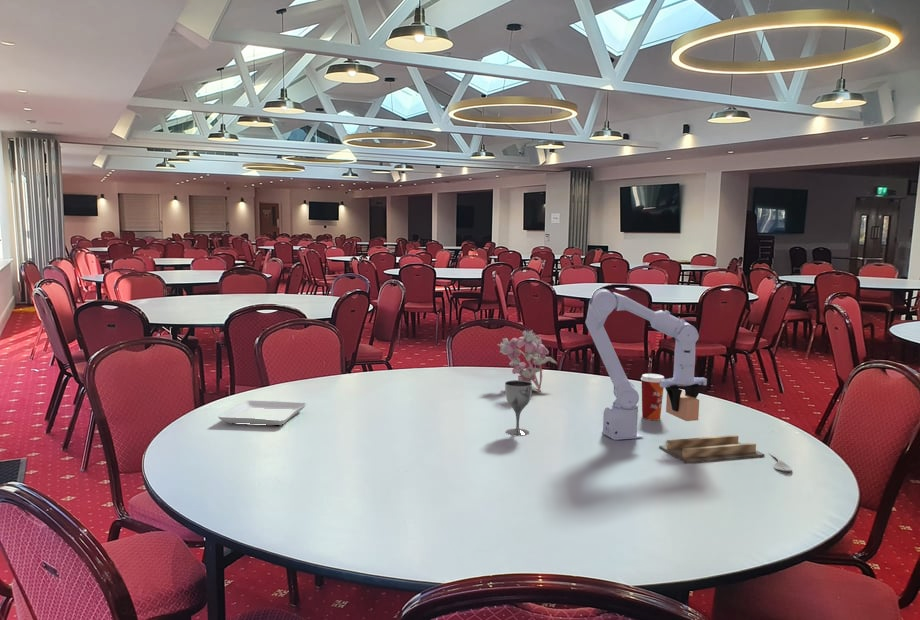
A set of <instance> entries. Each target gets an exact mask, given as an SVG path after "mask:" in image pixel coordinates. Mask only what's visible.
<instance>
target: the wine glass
mask: <svg viewBox="0 0 920 620" xmlns="http://www.w3.org/2000/svg"><path fill="white" fill-rule="evenodd" d="M532 387H533V383H532V381H531V382H528V381H521V380H508V381H505V383H504V391H505V398H506V401H507V404H508V405H509V406H510V407H511V409H512V411H514V414H515V421H516V422H515V423H516V425H515V428H509V429H506V430H505V433H506V434H507V433H508V435H509V434H510V436H514V435H516V436H515V437H522V436H521V435H524V436H527V434H528V435H529V434H530V431H529V430H527V429H525V428H520V417H521V413H522V411H523V410H524V409H525V408H526V406H528V405H529V403H530V400H531V397H532V391H533V390H532ZM519 435H520V436H519Z"/></svg>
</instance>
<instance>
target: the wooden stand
mask: <svg viewBox="0 0 920 620" xmlns="http://www.w3.org/2000/svg"><path fill="white" fill-rule="evenodd" d="M666 442H667V443H666V444H663V445H662V444H661V445H659V449H661V450H662V449H663V450H662V451H664V452H666V453H668V454H669V455H671V456H673V457H675V458H676V459H678V460H679V461H682V462H683V463H685V464H696V463H704V462H705V463H707V462H717V461H718V462H719V461H729V460H731V461H732V460H739V459H750V458H751V459H752V458H762V457H765V456H766V454H764V453H763V452H760V451H758V450H757V444H756V443H755V442H745V443H741V442H739V436H738V435H737V434H732V435H731V434H729V435H717V436H716V435H715V436H706V437H704V436H703V437H694V438H693V437H692V438H691V437H690V438H678V439H667V441H666Z"/></svg>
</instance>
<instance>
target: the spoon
mask: <svg viewBox="0 0 920 620" xmlns="http://www.w3.org/2000/svg"><path fill="white" fill-rule="evenodd" d="M768 454H769V455H770V456H771V457H773V458H774V459H776V460H777V462H775V464H774V465H773V468H774V469H776V470H777V471H780V472H785V473H786V472H792V471H793V469H792V467H791V465H788V464H787V463H785V462H784V461H783V460H781V458H780V457H779V455H778V454H777V453H776V452H774V451H769V452H768Z"/></svg>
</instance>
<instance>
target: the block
mask: <svg viewBox="0 0 920 620" xmlns="http://www.w3.org/2000/svg"><path fill="white" fill-rule="evenodd" d="M699 411H700V399H698V398H694V397H691V396H688V395H686V394H685V393H683V392H682V393H681V396H680V400H679V410H678V411H677V412H676V411H674V410H672V406H671V401H670V398H669V395H668V393H667V392H666V405H665V412H666V413H667V414H670V415H672V416H675V417H676V418H678V419H681V420H683V421H684V422H691V421H692V422H693V421H694V422H695V421H699V415H700V414H699Z"/></svg>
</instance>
